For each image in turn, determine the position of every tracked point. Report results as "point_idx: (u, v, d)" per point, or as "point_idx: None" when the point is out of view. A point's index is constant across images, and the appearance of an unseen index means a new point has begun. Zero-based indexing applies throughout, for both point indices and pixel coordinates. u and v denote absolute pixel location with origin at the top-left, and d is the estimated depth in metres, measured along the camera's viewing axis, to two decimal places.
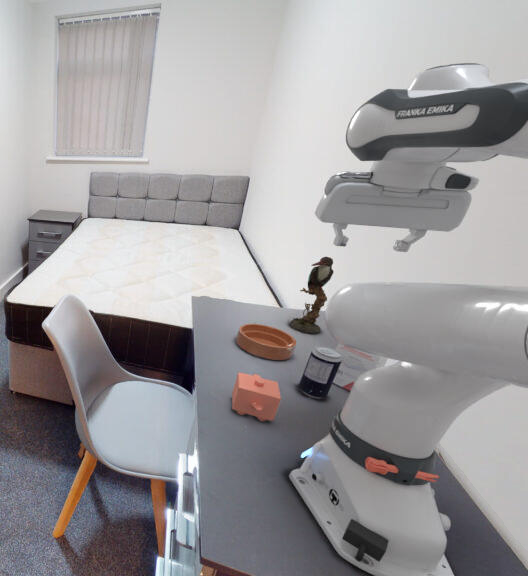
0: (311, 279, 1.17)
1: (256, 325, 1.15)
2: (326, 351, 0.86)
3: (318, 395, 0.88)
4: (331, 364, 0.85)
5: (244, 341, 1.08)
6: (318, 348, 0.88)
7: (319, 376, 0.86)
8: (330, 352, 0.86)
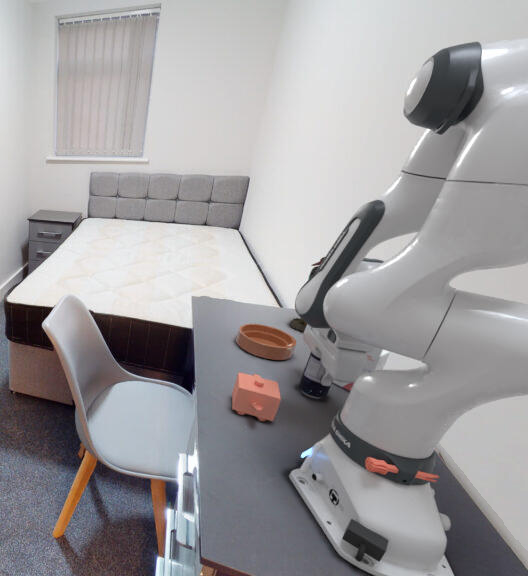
0: None
1: (256, 325, 1.15)
2: None
3: (318, 395, 0.88)
4: None
5: (244, 341, 1.08)
6: None
7: (319, 376, 0.86)
8: None
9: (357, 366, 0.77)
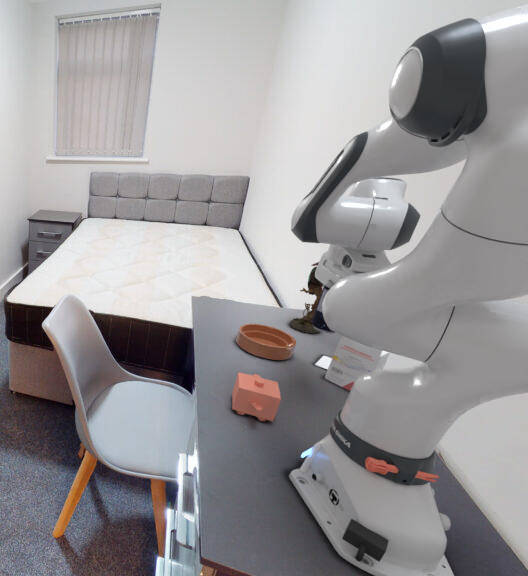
0: (311, 279, 1.17)
1: (256, 325, 1.15)
2: None
3: None
4: None
5: (244, 341, 1.08)
6: None
7: None
8: None
9: None
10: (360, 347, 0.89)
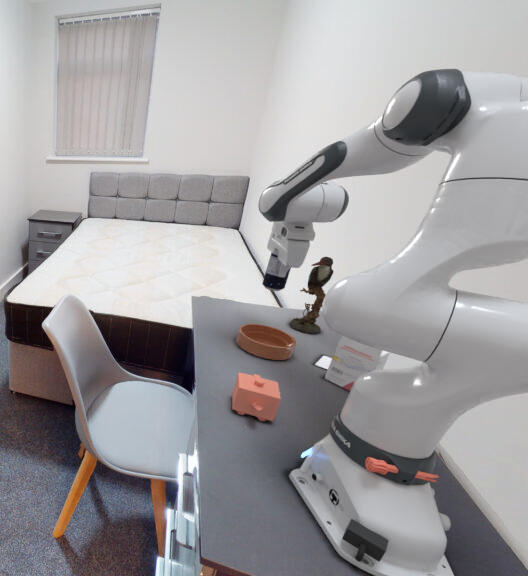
0: (311, 279, 1.17)
1: (256, 325, 1.15)
2: None
3: (276, 287, 1.09)
4: None
5: (244, 341, 1.08)
6: None
7: (277, 270, 1.07)
8: None
9: (302, 252, 0.98)
10: (360, 347, 0.89)
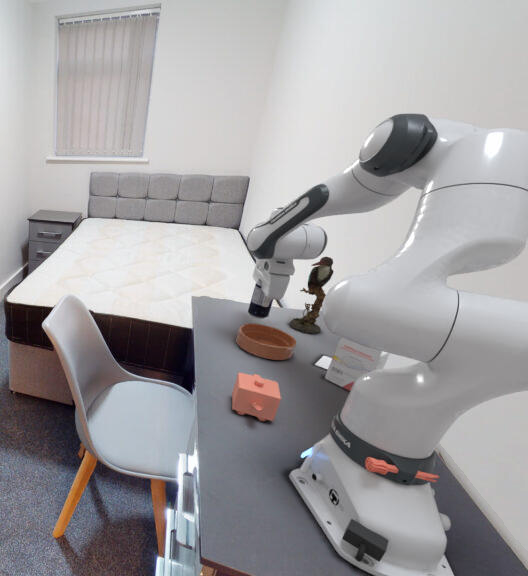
0: (311, 279, 1.17)
1: (256, 325, 1.15)
2: None
3: (261, 315, 1.16)
4: None
5: (244, 341, 1.08)
6: None
7: (261, 300, 1.15)
8: None
9: (282, 286, 1.05)
10: (360, 347, 0.89)
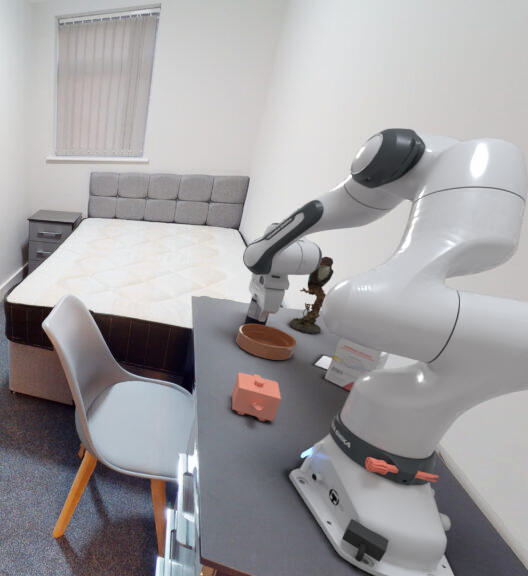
0: (311, 279, 1.17)
1: (256, 325, 1.15)
2: None
3: None
4: None
5: (244, 341, 1.08)
6: None
7: (257, 314, 1.17)
8: None
9: (277, 300, 1.07)
10: (360, 347, 0.89)
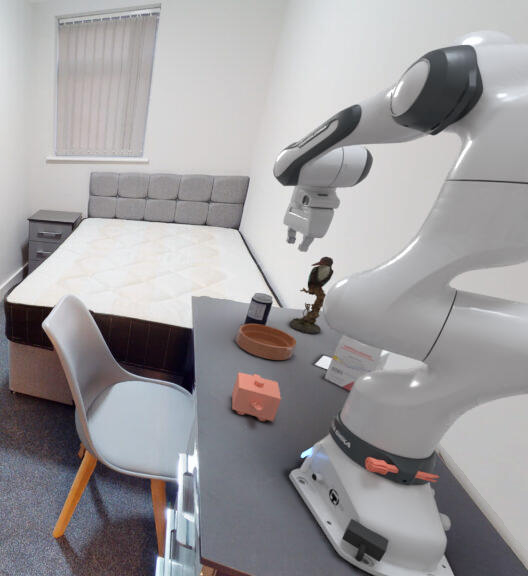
0: (311, 279, 1.17)
1: (256, 325, 1.15)
2: (262, 296, 1.17)
3: None
4: (264, 304, 1.15)
5: (244, 341, 1.08)
6: (256, 294, 1.18)
7: (257, 314, 1.17)
8: (264, 296, 1.16)
9: (325, 221, 0.91)
10: (360, 347, 0.89)
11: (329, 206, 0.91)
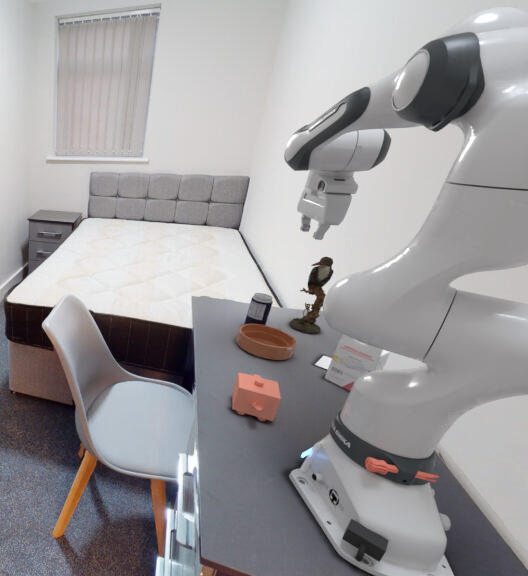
0: (311, 279, 1.17)
1: (256, 325, 1.15)
2: (262, 296, 1.17)
3: None
4: (264, 304, 1.15)
5: (244, 341, 1.08)
6: (256, 294, 1.18)
7: (257, 314, 1.17)
8: (264, 296, 1.16)
9: (342, 207, 0.87)
10: (360, 347, 0.89)
11: (346, 191, 0.87)
